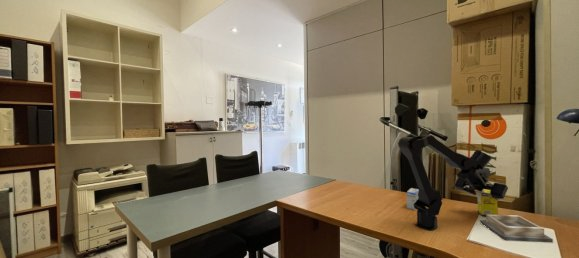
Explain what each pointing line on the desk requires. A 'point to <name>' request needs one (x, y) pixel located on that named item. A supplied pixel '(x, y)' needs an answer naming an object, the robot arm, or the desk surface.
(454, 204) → the desk surface
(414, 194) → the medicine box
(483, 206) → the supplement box
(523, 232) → the board
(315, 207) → the desk surface
